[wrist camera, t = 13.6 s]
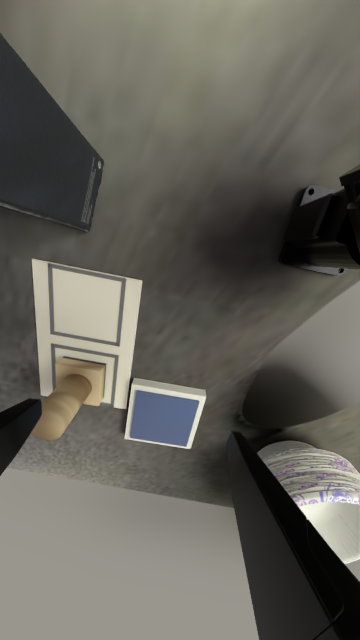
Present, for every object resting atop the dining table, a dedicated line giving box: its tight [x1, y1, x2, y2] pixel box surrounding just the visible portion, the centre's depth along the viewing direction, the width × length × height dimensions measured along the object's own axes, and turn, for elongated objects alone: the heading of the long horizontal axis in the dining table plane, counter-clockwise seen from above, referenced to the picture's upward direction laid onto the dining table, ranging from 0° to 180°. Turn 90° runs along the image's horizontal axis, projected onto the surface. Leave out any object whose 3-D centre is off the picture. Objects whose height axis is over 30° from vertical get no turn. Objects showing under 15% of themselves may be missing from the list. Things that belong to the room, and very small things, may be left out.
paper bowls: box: [257, 441, 360, 564], centre depth 24 cm, size 15×15×8 cm
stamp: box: [31, 356, 106, 441], centre depth 19 cm, size 5×5×7 cm
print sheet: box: [32, 259, 143, 409], centre depth 21 cm, size 11×17×1 cm, turn 169°
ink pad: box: [125, 378, 206, 449], centre depth 24 cm, size 9×9×2 cm
